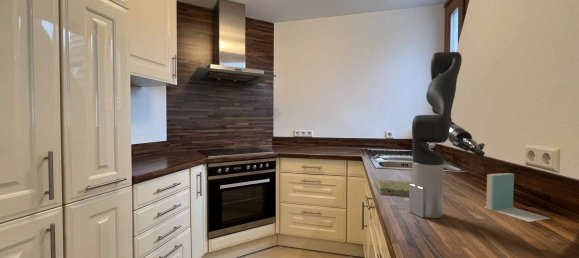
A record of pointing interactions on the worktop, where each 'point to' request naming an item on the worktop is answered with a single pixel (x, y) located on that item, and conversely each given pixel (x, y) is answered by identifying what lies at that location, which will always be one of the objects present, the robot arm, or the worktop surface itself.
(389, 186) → the decorative tile
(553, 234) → the worktop surface
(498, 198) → the tile
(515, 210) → the mat
